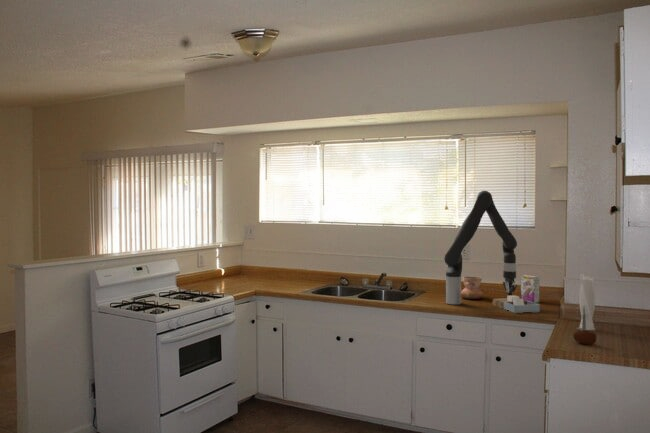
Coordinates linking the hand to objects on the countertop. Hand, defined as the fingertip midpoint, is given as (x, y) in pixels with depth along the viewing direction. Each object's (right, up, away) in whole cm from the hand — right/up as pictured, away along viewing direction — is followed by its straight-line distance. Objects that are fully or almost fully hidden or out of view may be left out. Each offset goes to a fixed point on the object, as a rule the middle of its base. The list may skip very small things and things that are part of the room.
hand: (509, 298), depth 344 cm
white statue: (+18, -7, -62) cm, 65 cm away
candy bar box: (+18, -5, +16) cm, 24 cm away
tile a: (+1, -1, -4) cm, 4 cm away
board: (0, -5, -1) cm, 5 cm away
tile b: (+2, -2, -9) cm, 10 cm away
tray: (+3, -5, -14) cm, 15 cm away
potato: (+4, -7, -91) cm, 91 cm away
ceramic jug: (-15, -4, +30) cm, 34 cm away
